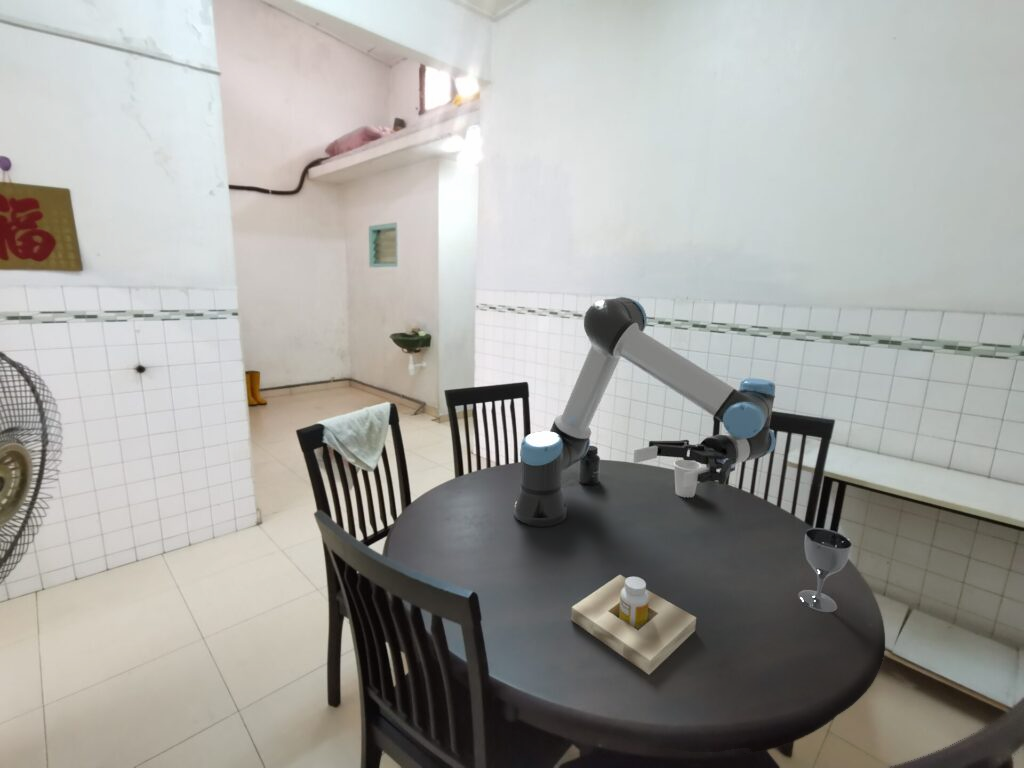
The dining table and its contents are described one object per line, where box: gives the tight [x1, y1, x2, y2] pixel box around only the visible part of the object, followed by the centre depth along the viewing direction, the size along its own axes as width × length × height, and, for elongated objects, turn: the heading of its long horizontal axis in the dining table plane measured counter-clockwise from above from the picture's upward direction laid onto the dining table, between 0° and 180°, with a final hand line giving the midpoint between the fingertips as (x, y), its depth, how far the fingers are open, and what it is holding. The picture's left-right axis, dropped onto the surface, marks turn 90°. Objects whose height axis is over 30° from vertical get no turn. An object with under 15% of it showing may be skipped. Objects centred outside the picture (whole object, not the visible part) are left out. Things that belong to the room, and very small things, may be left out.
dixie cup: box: [673, 458, 703, 499], centre depth 151 cm, size 8×8×10 cm
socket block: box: [570, 574, 697, 675], centre depth 94 cm, size 18×16×3 cm
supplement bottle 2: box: [618, 576, 649, 630], centre depth 94 cm, size 5×5×10 cm
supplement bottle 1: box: [578, 445, 601, 486], centre depth 159 cm, size 7×7×12 cm
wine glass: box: [797, 527, 852, 613], centre depth 100 cm, size 8×8×15 cm
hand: (658, 467), depth 100 cm, fingers open, 13 cm apart
